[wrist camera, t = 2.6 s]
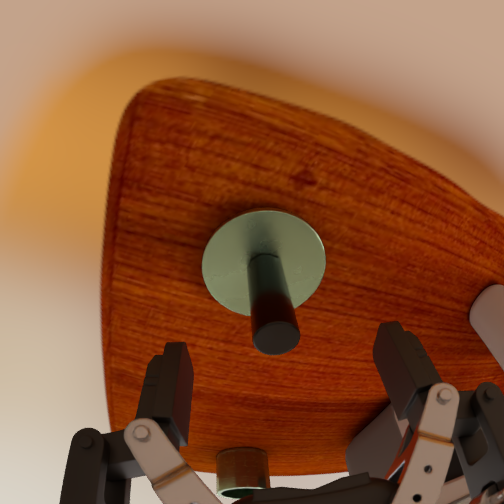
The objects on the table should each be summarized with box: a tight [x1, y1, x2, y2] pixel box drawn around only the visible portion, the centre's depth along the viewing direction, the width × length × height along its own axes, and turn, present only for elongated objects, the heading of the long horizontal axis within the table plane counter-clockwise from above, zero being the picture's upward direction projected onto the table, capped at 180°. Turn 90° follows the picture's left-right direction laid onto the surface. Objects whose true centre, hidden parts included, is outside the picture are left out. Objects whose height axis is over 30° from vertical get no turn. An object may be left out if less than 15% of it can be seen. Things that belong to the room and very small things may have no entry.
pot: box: [216, 447, 271, 499], centre depth 29 cm, size 6×6×5 cm
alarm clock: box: [345, 403, 471, 504], centre depth 24 cm, size 16×11×16 cm
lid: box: [202, 207, 326, 355], centre depth 15 cm, size 7×7×7 cm
